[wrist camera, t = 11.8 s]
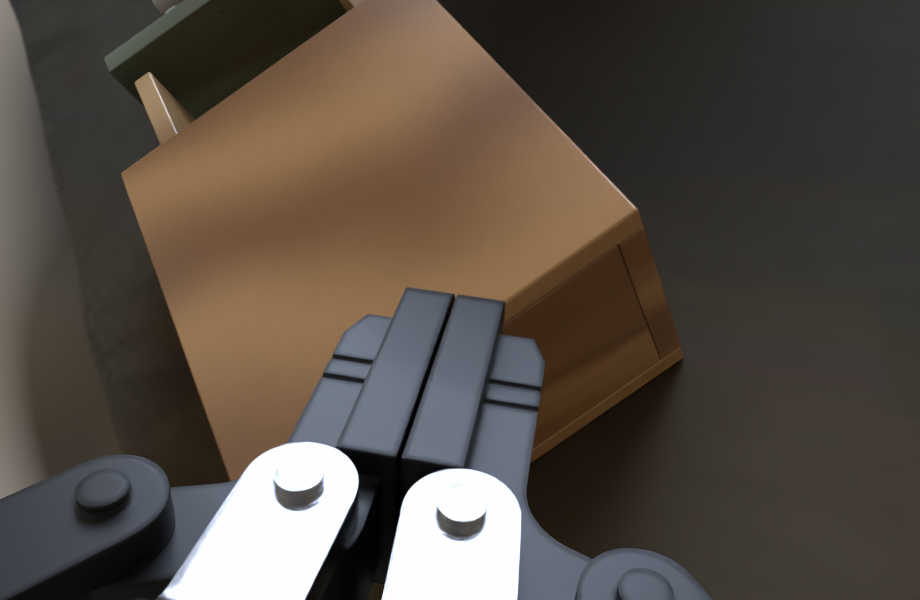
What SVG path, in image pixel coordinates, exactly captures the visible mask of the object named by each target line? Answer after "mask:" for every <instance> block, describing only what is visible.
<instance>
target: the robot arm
mask: <svg viewBox="0 0 920 600" xmlns="http://www.w3.org/2000/svg"><path fill="white" fill-rule="evenodd" d="M504 315H505V301H501V300H494V299H487V298H481V297H474V296H467V295H460V294H458V295H457V296H456V299H455V294H452V293H446V292H439V291H432V290H425V289H419V288H412V287H407V288H406V289H405V291H404V293H403V295H402V297H401V299H400V302H399V304H398V306H397V309H396V311H395V313H394V315H393V318H391V317H385V316H378V315H372V314H367V315H366V316H364V317H363V318H362V319H360V320H359V321H358V322H356V323H355V324H354V325H352V326H351V327H350V328H348V329H347V330H346V331H344V333H343V335H342V337H341V339H340V341H339V343H338V345H337V346H336V348H335V350H334V352H333V356H332V359H331V358H330V360H329V362H328V364H327V366H326V368H325V370H324V372H323V376H322V377H320V379H319V381H318V383H317V385H316V387H315V389H314V391H313V393H312V395H311V397H310V399H309V401H308V402H307V404H306V406H305V408H304V410H303V412H302V414H301V416H300V418H299V420H298V422H297V424H296V426H295V428H294V430H293V431H292V433H291V435H290V437H289V439H288V441H287V443H286V444H285V445H282V446H279V447H276V448H273V449H271V450H269V451H267V452H265V453H263V454H262V455H260V456H259V457H257V458H256V459H255V460H254V461H253V462H252V463H251V464H250V465H249V466H248V467H247V469H246V470H245V471H244V473H243V474H242V476H241V477H240V479H238V480H234V481H230V482H225V483H218V484H207V485H195V486H183V487H171V488H170V486H169V482H168V478H167V476H166V474H165V472H164V471H163V469H162V468H161V467H160V466H159V465H157V464H156V463H154V462H153V461H151V460H148V459H146V458H143V457H139V456H135V455H110V456H104V457H99V458H96V459H92V460H89V461H87V462H84V463H82V464H79V465H77V466H75V467H72V468H70V469H68V470H66V471H63V472H61V473H59V474H56V475H54V476H52V477H50V478H47V479H45V480H43V481H41V482H38V483H36V484H34V485H32V486H29V487H27V488H25V489H23V490H20V491H18V492H16V493H14V494H11V495H9V496H7V497H4V498H2V499H0V600H367V598H368V595H369V592H370V589H371V585H372V582H376V583H381V584H385V587H384V591H383V596H382V600H713V599H712V598H711V597H710V595H709V594H708V593H707V592H706V591H705V590H704V589H703V588H702V586H701V585H700V584H699V583H698V582H697V581H696V580H695V579H694V577H693V576H692V575H691V574H690V573H688V572H687V571H686V570H685V569H684V568H683V567H681V566H680V565H679V564H677V563H676V562H674V561H673V560H671V559H669V558H667V557H665V556H663V555H661V554H658V553H656V552H652V551H649V550H645V549H638V548H620V549H613V550H610V551H607V552H604V553H602V554H600V555H598V556H596V557H595V558H594V559H591V558H589V557H587V556H585V555H583V554H580V553H578V552H576V551H574V550H572V549H570V548H568V547H566V546H565V545H563V544H561V543H559V542H558V541H556V540H555V539H554V538H552V537H551V536H550V535H548V534H547V533H546V532H545V531H544V530H543V529H542V528H541V527H540V525H539V524H538V523H537V521H536V520H535V518H534V517H533V515H532V513H531V511H530V508H529V506H528V502H527V496H526V491H527V482H528V475H529V469H530V462H531V455H532V449H533V442H534V435H535V429H536V422H537V415H538V409H539V402H540V395H541V388H542V382H543V375H544V368H545V361H544V359H543V357H542V354H541V352H540V350H539V348H538V346H537V344H536V342H535V339H530V338H523V337H517V336H510V335H504V334H502V333H503V324H504Z"/></svg>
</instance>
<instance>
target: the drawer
mask: <svg viewBox="0 0 920 600" xmlns="http://www.w3.org/2000/svg"><path fill="white" fill-rule="evenodd" d="M362 1H364V0H152V2H153V4H154V5H155V7H156V8H157V10H158V11H159V12H160V14H161V15H162V17H160V18H159V19H158V20H156V21H155V22H153V23H152V24H151V25H149V26H148V27H146V28H145V29H144V30H142V31H141V32H139V33H138V34H137V35H135V36H134V37H132V38H131V39H130V40H128V41H127V42H125V43H124V44H123V45H121V46H120V47H118V48H117V49H116V50H114V51H113V52H111V53H110V54H109V55H107V56H106V57H105V58H104V60H105V62H106V65H107V67H108V70H109V72H110V73H111V74H112V75H113V76H114V77H115V78H116V79H117V80H118V81H119V82H120V83H121V84H122V85H123V86H124V87H125V88H126V89H127V90H128V91H129V92H130V93H131V94H132V95H133V96H134V97H135V98H136V99H137V100H138V101H139V102H140V103H141V104H142V105H143V106H144V107H145V110H146V112H147V114H148V117H149V119H150V121H151V124H152V126H153V129H154V131H155V133H156V136H157V138H158V140H159V143H160V145H161V144H163V143H164V142H165V141H167V140H168V139H170V138H171V137H172V136H174V135H175V134H177V133H178V132H180V131H181V130H182V129H184V128H185V127H187V126H188V125H189V124H191V123H192V122H194V121H195V120H196V119H198V118H199V117H201V116H202V115H203V114H205V113H206V112H208V111H209V110H210V109H212V108H213V107H215V106H216V105H217V104H219V103H220V102H222V101H223V100H224V99H226V98H227V97H229V96H230V95H232V94H233V93H234V92H236V91H237V90H239V89H240V88H241V87H243V86H244V85H246V84H247V83H248V82H250V81H251V80H253V79H254V78H255V77H257V76H258V75H260V74H261V73H262V72H264V71H265V70H267V69H268V68H269V67H271V66H272V65H274V64H275V63H276V62H278V61H279V60H281V59H282V58H284V57H285V56H286V55H288V54H289V53H291V52H292V51H293V50H295V49H296V48H298V47H299V46H300V45H302V44H303V43H305V42H306V41H307V40H309V39H310V38H312V37H313V36H314V35H316V34H317V33H319V32H320V31H321V30H323V29H324V28H326V27H327V26H328V25H330V24H331V23H333V22H334V21H335V20H337V19H338V18H340V17H341V16H343V15H344V14H345V13H347V12H348V11H350V10H351V9H352V8H354V7H355V6H357V5H358V4H359V3H361V2H362Z"/></svg>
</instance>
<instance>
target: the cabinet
mask: <svg viewBox="0 0 920 600" xmlns="http://www.w3.org/2000/svg"><path fill="white" fill-rule="evenodd" d="M121 177H122V180H123V182H124V185H125V188H126V191H127V194H128V196H129V199H130V202H131V205H132V208H133V211H134V213H135V216H136V219H137V222H138V225H139V227H140V230H141V233H142V236H143V239H144V241H145V244H146V247H147V250H148V253H149V255H150V258H151V261H152V264H153V267H154V269H155V272H156V275H157V278H158V281H159V284H160V286H161V289H162V292H163V295H164V298H165V300H166V303H167V306H168V309H169V312H170V314H171V317H172V320H173V323H174V326H175V328H176V331H177V334H178V337H179V340H180V342H181V345H182V348H183V351H184V354H185V357H186V359H187V362H188V365H189V368H190V371H191V373H192V376H193V379H194V382H195V385H196V387H197V390H198V393H199V396H200V399H201V401H202V404H203V407H204V410H205V413H206V416H207V418H208V421H209V424H210V427H211V430H212V432H213V435H214V438H215V441H216V444H217V446H218V449H219V452H220V455H221V458H222V460H223V463H224V466H225V469H226V472H227V474H228V477H229V480H230V481H234V480H238V479H240V477H241V476H242V474H243V473H244V471H245V470H246V469H247V467H248V466H249V465H250V464H251V463H252V462H253V461H254V460H255V459H256V458H257V457H259V456H260V455H262V454H263V453H265V452H267V451H269V450H271V449H273V448H276V447H279V446H282V445H285V444H286V443H287V441H288V439H289V437H290V435H291V433H292V431H293V430H294V428H295V426H296V424H297V422H298V420H299V418H300V416H301V414H302V412H303V410H304V408H305V406H306V404H307V402H308V401H309V399H310V397H311V395H312V393H313V391H314V389H315V387H316V385H317V383H318V381H319V379H320V377H322V376H323V372H324V370H325V368H326V366H327V364H328V362H329V360H330V358H331V359H332V356H333V352H334V350H335V348H336V346H337V345H338V343H339V341H340V339H341V337H342V335H343V333H344V331H346V330H347V329H348V328H350V327H351V326H352V325H354V324H355V323H356V322H358V321H359V320H360V319H362V318H363V317H364V316H366V315H367V314H372V315H378V316H385V317H391V318H393V315H394V313H395V311H396V309H397V306H398V304H399V302H400V299H401V297H402V295H403V293H404V291H405V289H406V288H407V287H412V288H419V289H425V290H432V291H439V292H446V293H452V294H455V299H456V296H457V295H458V294H460V295H467V296H474V297H481V298H487V299H494V300H501V301H505V315H504V324H503V333H502V334H504V335H510V336H517V337H523V338H530V339H535V342H536V344H537V346H538V348H539V350H540V352H541V354H542V357H543V359H544V361H545V368H544V375H543V382H542V388H541V395H540V402H539V409H538V415H537V422H536V429H535V435H534V442H533V449H532V455H531V462H530V463H532V462H533V461H535V460H536V459H538V458H539V457H540V456H542V455H543V454H545V453H546V452H548V451H549V450H551V449H552V448H553V447H555V446H556V445H558V444H559V443H561V442H562V441H564V440H565V439H566V438H568V437H569V436H571V435H572V434H574V433H575V432H577V431H578V430H579V429H581V428H582V427H584V426H585V425H587V424H588V423H590V422H591V421H592V420H594V419H595V418H597V417H598V416H600V415H601V414H603V413H604V412H605V411H607V410H608V409H610V408H611V407H613V406H614V405H616V404H617V403H618V402H620V401H621V400H623V399H624V398H626V397H627V396H629V395H630V394H631V393H633V392H634V391H636V390H637V389H639V388H640V387H642V386H643V385H644V384H646V383H647V382H649V381H650V380H652V379H653V378H655V377H656V376H657V375H659V374H660V373H662V372H663V371H665V370H666V369H668V368H669V367H670V366H672V365H673V364H675V363H676V362H678V361H679V360H681V359H682V358H683V357H684V354H683V351H682V348H681V345H680V341H679V338H678V335H677V332H676V329H675V325H674V322H673V319H672V316H671V313H670V309H669V306H668V303H667V300H666V297H665V293H664V290H663V287H662V284H661V281H660V277H659V274H658V271H657V268H656V265H655V261H654V258H653V255H652V252H651V249H650V245H649V242H648V239H647V236H646V232H645V229H644V227H643V224H642V221H641V217H640V214H639V211H638V208H637V207H636V206H635V205H634V204H633V203H632V202H631V201H630V200H629V199H628V198H627V197H626V196H625V195H624V194H623V193H622V192H621V191H620V190H619V189H618V188H617V187H616V186H615V185H614V184H613V183H612V182H611V180H610V179H609V178H608V177H607V176H606V175H605V174H604V173H603V172H602V171H601V170H600V169H599V168H598V167H597V166H596V165H595V164H594V163H593V162H592V161H591V160H590V159H589V158H588V157H587V156H586V155H585V154H584V152H583V151H582V150H581V149H580V148H579V147H578V146H577V145H576V144H575V143H574V142H573V141H572V140H571V139H570V138H569V137H568V136H567V135H566V134H565V133H564V132H563V131H562V130H561V129H560V128H559V127H558V126H557V124H556V123H555V122H554V121H553V120H552V119H551V118H550V117H549V116H548V115H547V114H546V113H545V112H544V111H543V110H542V109H541V108H540V107H539V106H538V105H537V104H536V103H535V102H534V101H533V100H532V99H531V98H530V96H529V95H528V94H527V93H526V92H525V91H524V90H523V89H522V88H521V87H520V86H519V85H518V84H517V83H516V82H515V81H514V80H513V79H512V78H511V77H510V76H509V75H508V74H507V73H506V72H505V71H504V70H503V68H502V67H501V66H500V65H499V64H498V63H497V62H496V61H495V60H494V59H493V58H492V57H491V56H490V55H489V54H488V53H487V52H486V51H485V50H484V49H483V48H482V47H481V46H480V45H479V44H478V43H477V42H476V40H475V39H474V38H473V37H472V36H471V35H470V34H469V33H468V32H467V31H466V30H465V29H464V28H463V27H462V26H461V25H460V24H459V23H458V22H457V21H456V20H455V19H454V18H453V17H452V16H451V15H450V14H449V12H448V11H447V10H446V9H445V8H444V7H443V6H442V5H441V4H440V3H439V2H438V1H437V0H364V1H362V2H361V3H359V4H358V5H357V6H355V7H354V8H352V9H351V10H350V11H348V12H347V13H345V14H344V15H343V16H341V17H340V18H338V19H337V20H335V21H334V22H333V23H331V24H330V25H328V26H327V27H326V28H324V29H323V30H321V31H320V32H319V33H317V34H316V35H314V36H313V37H312V38H310V39H309V40H307V41H306V42H305V43H303V44H302V45H300V46H299V47H298V48H296V49H295V50H293V51H292V52H291V53H289V54H288V55H286V56H285V57H284V58H282V59H281V60H279V61H278V62H276V63H275V64H274V65H272V66H271V67H269V68H268V69H267V70H265V71H264V72H262V73H261V74H260V75H258V76H257V77H255V78H254V79H253V80H251V81H250V82H248V83H247V84H246V85H244V86H243V87H241V88H240V89H239V90H237V91H236V92H234V93H233V94H232V95H230V96H229V97H227V98H226V99H224V100H223V101H222V102H220V103H219V104H217V105H216V106H215V107H213V108H212V109H210V110H209V111H208V112H206V113H205V114H203V115H202V116H201V117H199V118H198V119H196V120H195V121H194V122H192V123H191V124H189V125H188V126H187V127H185V128H184V129H182V130H181V131H180V132H178V133H177V134H175V135H174V136H172V137H171V138H170V139H168V140H167V141H165V142H164V143H163V144H161V145H160V146H158V147H157V148H156V149H154V150H153V151H151V152H150V153H149V154H147V155H146V156H144V157H143V158H142V159H140V160H139V161H137V162H136V163H135V164H133V165H132V166H130V167H129V168H128V169H126V170H125V171H123V172H122V173H121Z"/></svg>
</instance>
